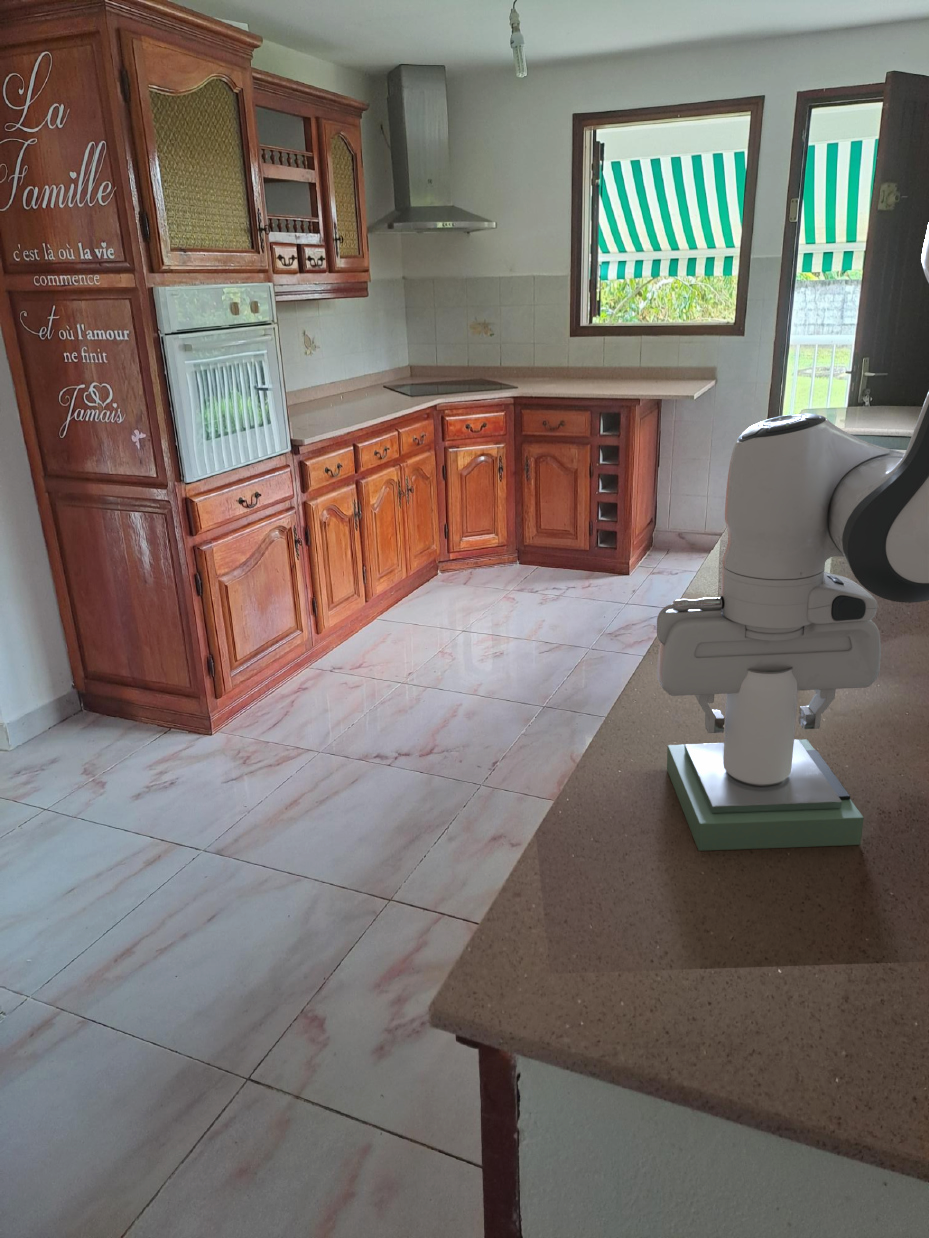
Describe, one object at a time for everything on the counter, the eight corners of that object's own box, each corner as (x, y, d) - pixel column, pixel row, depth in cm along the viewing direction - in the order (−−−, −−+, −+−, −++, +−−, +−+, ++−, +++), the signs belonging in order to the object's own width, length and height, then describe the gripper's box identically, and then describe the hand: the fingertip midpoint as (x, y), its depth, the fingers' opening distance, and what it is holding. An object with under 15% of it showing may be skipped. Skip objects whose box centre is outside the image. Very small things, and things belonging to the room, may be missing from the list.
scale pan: (797, 745, 93) (798, 739, 93) (841, 808, 82) (842, 801, 82) (684, 750, 94) (684, 744, 93) (712, 813, 83) (712, 806, 82)
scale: (805, 763, 96) (807, 735, 95) (860, 845, 82) (864, 813, 81) (666, 769, 96) (667, 741, 95) (698, 851, 82) (699, 820, 81)
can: (734, 789, 85) (741, 676, 80) (714, 756, 91) (719, 649, 86) (801, 785, 85) (811, 671, 80) (776, 752, 91) (785, 645, 87)
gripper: (664, 612, 79) (660, 748, 83) (896, 601, 78) (879, 739, 83) (651, 589, 84) (648, 718, 89) (867, 579, 84) (852, 709, 89)
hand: (761, 728), depth 86 cm, fingers open, 8 cm apart
